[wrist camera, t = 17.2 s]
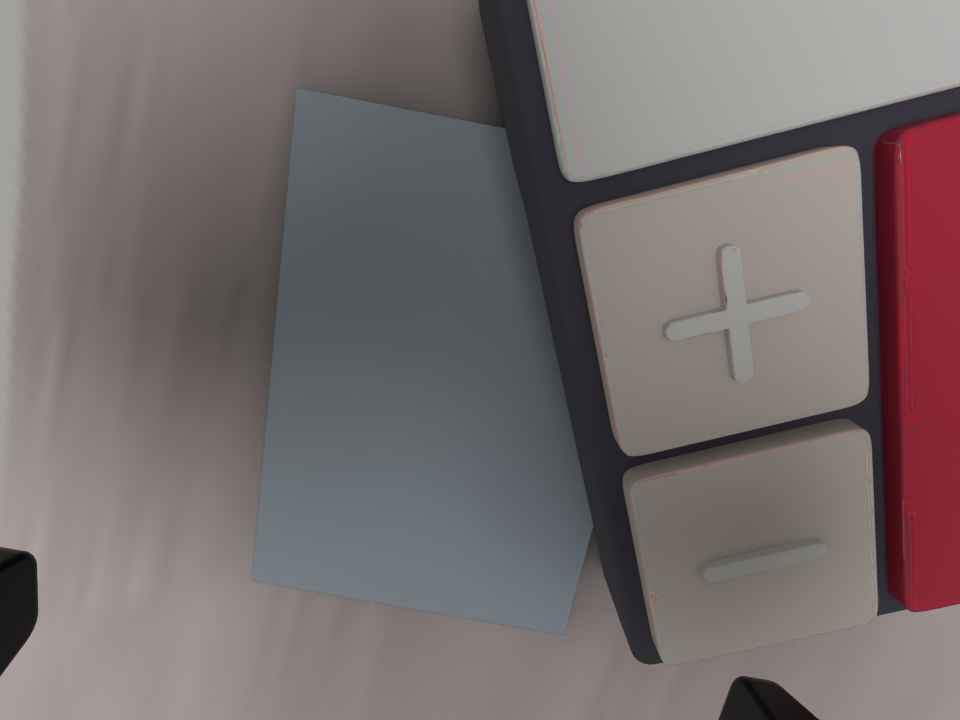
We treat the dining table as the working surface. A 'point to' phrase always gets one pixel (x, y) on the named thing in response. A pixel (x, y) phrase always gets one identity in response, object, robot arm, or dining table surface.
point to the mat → (416, 378)
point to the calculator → (749, 300)
